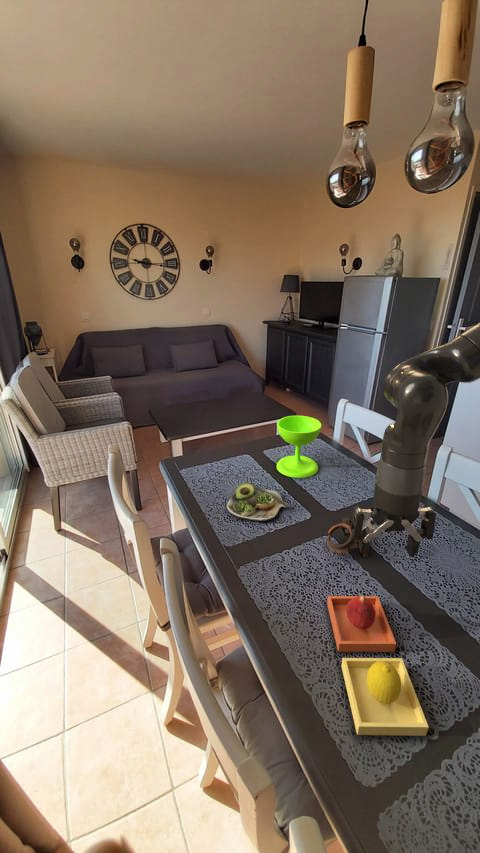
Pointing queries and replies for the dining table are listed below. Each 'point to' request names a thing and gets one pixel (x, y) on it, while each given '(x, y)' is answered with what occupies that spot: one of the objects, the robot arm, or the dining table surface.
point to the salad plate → (254, 503)
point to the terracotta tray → (356, 638)
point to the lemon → (384, 682)
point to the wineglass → (298, 445)
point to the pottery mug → (347, 532)
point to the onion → (361, 612)
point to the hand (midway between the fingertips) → (387, 553)
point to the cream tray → (378, 716)
